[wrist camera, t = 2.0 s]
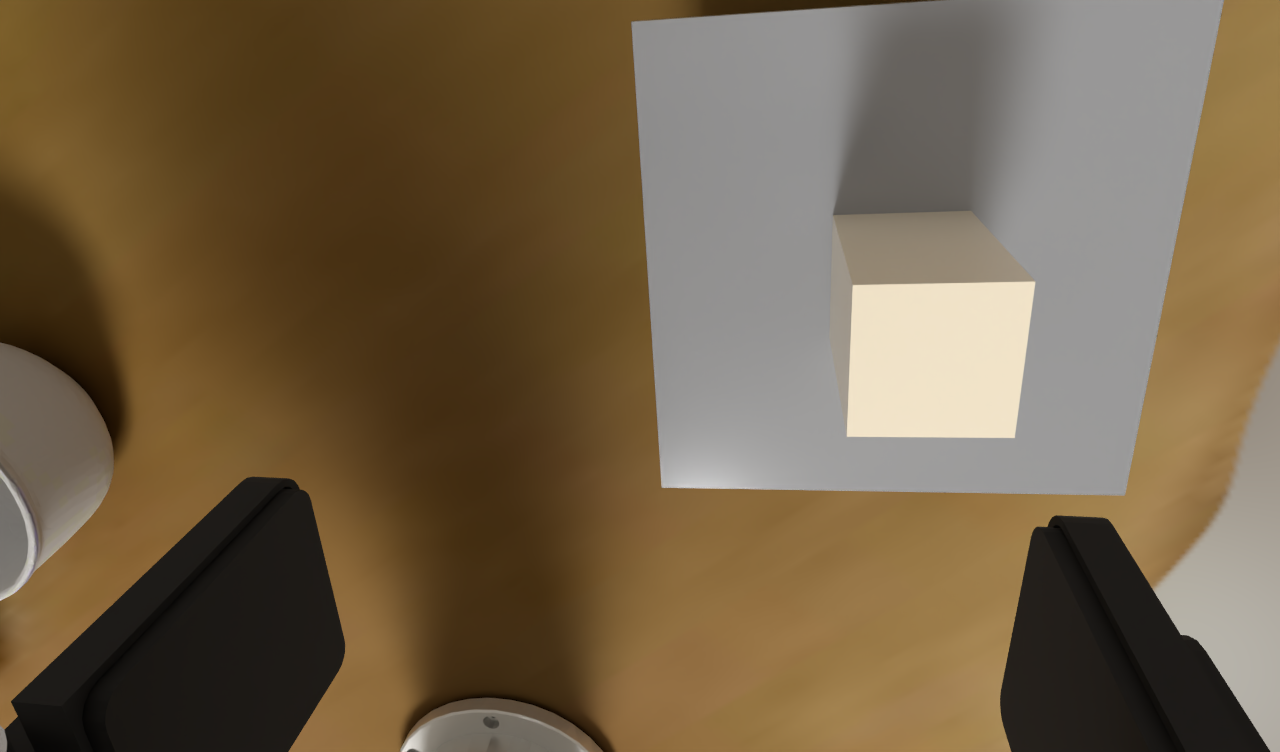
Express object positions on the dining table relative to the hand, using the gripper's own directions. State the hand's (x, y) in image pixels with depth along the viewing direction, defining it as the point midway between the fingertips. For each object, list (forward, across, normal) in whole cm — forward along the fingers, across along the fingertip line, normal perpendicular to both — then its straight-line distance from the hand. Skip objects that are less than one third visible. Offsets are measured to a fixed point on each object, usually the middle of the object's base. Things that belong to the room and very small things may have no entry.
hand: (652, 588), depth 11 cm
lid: (+16, -5, +1) cm, 17 cm away
